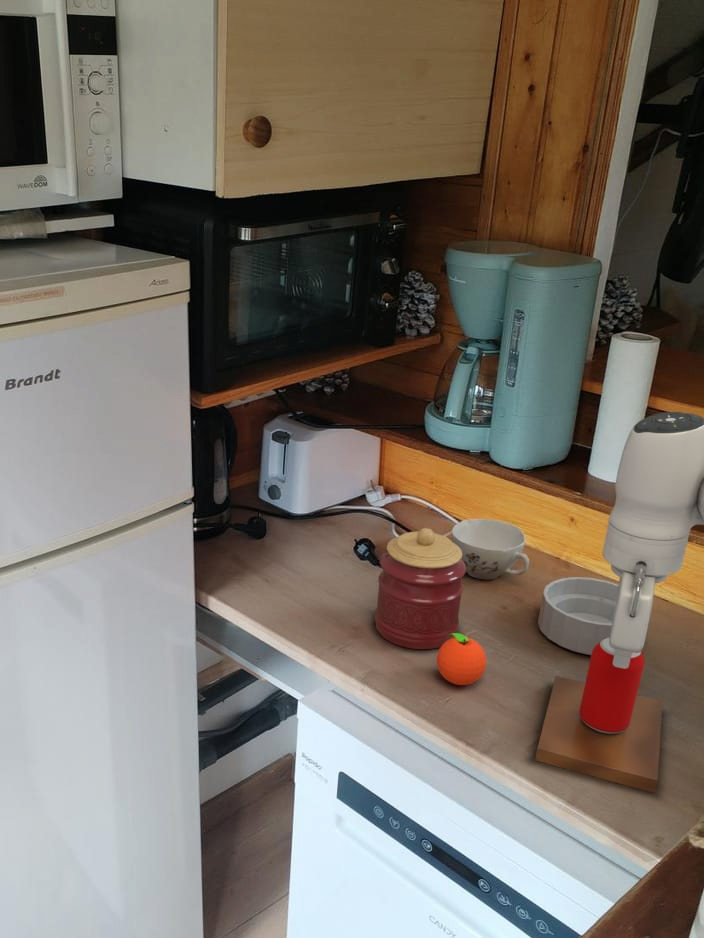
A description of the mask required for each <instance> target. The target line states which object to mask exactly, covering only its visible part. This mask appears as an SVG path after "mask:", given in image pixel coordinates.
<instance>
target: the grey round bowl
mask: <svg viewBox="0 0 704 938" xmlns="http://www.w3.org/2000/svg"><path fill="white" fill-rule="evenodd" d="M618 585H619V583H618V584H617V583H615V582H611V581H608V580H603V579H600V578H593V577H585V576H584V577H581V576H571V577H562V578H558V579H556V580H552V581H550V583H548V584H547V585H546V586H544V589H543V592H542V596H541V597H542V598H541V603H540V609H539V614H538V618H537V619H538V620H537V625H538V628H539V631H540V632H541V633H542V635H544V636H545V637H546V638H547V639H548V640H550V641H552V642H553V643H555V644H557V645H558V646H559V647H562V648H565V649H567V650H569V651H572V652H576V653H580V654H584V655H588V656H591V655H592V651H593V649H594V647H595V646H596V645H597V644H598V643H599V642H600V641H602V640H603V639H605V638H610V633H611V627H612V621H613V615H614V609H615V603H616V597H617V591H618Z"/></svg>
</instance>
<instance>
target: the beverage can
mask: <svg viewBox="0 0 704 938" xmlns="http://www.w3.org/2000/svg"><path fill="white" fill-rule="evenodd" d="M609 639H610V638H605V639H603V640H602V641H600V642H599V643H598V644H597V645H596V646H595V647H594V649H593V651H592V655H590V660H589V665H588V670H587V674H586V678H585V681H584V683H585V687H584V692H583V696H582V701H581V705H580V710H579V713H580V716H581V718H582V720H583V721H584V722H585V723H586V724H587V725H588V726H589V727H591V728H593V729H595V730H597V731H599V732H602V733H620V732H623V731H625V730H626V729H627V728H628V726H629V724H630V720H631V716H632V712H633V708H634V704H635V700H636V696H637V695H638V692H639V688H640V684H641V679H642V675H643V672H644V668H645V663H646V662H645V657H644V655H643V651H641V652H640V653H634V652H633V653H632V656H631V658H630V663H629V667H628V668H626V669H624V668H619V667H615V666H614V665H613V659H614V654H615V648H612V647H611V646H610V643H609Z"/></svg>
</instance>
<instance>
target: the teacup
mask: <svg viewBox="0 0 704 938" xmlns="http://www.w3.org/2000/svg"><path fill="white" fill-rule="evenodd" d="M451 542H453V543H455V544H456V545H457V546H458V547H459V548H460V549H461V551H462V558H461V559H462V560H463V562H464V563H465V566H466V572H465V573H467V574H468V575H469V576H470V577H472V578H475V579H479V580H485V581H489V580H495V579H497V578H498V577H500V576H501V575H504V574H508V575H513V576H514V575H515V576H521V575H523V574H525V573H526V572H527V571H528V570H529V567H530V558H529V557H528V555H527V554H526V553H524V552H523V550H524V549H525V544H526V534H525V533H524V532H523V530H522V529H521V528H519V527H518V526H515V525H514V524H512V523H509V522H506V521H503V520H497V519H487V518H482V517H478V518H470V519H469V518H468V519H463V520H461V521H460V522H458V523H456V524H455V525H454V526H453V528H452V530H451ZM518 560H521V561H522V562H523V563H524V567H523V568H522V569H517V570H515V569H513V570H511V569H512V568H513V566H515V564H517V562H518Z"/></svg>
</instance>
